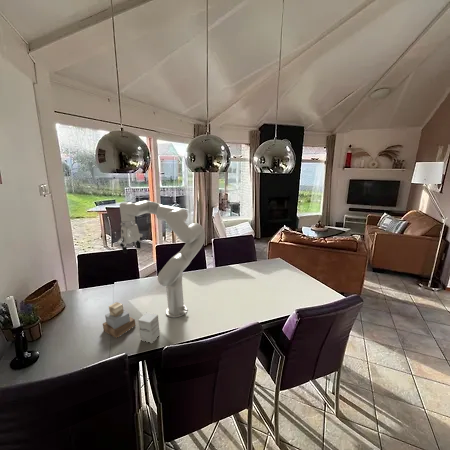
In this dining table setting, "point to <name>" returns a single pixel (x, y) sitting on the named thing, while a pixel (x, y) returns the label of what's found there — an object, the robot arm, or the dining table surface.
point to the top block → (117, 319)
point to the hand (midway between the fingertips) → (132, 250)
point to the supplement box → (149, 327)
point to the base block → (119, 328)
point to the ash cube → (116, 309)
